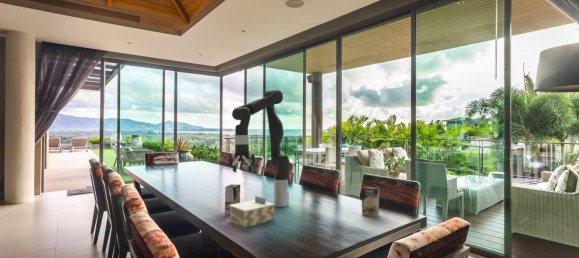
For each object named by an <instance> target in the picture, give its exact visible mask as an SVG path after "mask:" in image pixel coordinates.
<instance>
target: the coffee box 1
mask: <svg viewBox="0 0 579 258" xmlns="http://www.w3.org/2000/svg"><path fill="white" fill-rule="evenodd" d="M237 203H241V184H229V185H227V186H225V187H224V215H230V206H229V205H232V204H237Z"/></svg>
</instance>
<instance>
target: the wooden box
mask: <svg viewBox="0 0 579 258" xmlns="http://www.w3.org/2000/svg"><path fill="white" fill-rule="evenodd" d="M274 215H275V206H274V205H272V206H268V207H264V208H259V209H255V210H251V211H246V212H245V211H242V210H239V209H236V208H233V207H231V206H230V216H229V222H231V223H233V224H236V225H238V226H240V227H243V228H248V227H252V226H253V227H254V226H255V225H260V224H264V223H267V222H271V221H274V220H275V216H274Z"/></svg>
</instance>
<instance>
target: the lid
mask: <svg viewBox="0 0 579 258" xmlns="http://www.w3.org/2000/svg"><path fill="white" fill-rule="evenodd" d="M254 198H255V199H252V200H247V201H241V202H240V203H237V204H232V205H229V206H231V207H233V208H236V209H239V210H242V211H245V212H246V211H251V210H255V209H259V208H264V207H268V206H272V205H275V204H273V202H269V201H266V198H265V197H262V196H258V195H255V196H254Z"/></svg>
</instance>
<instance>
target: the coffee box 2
mask: <svg viewBox="0 0 579 258" xmlns="http://www.w3.org/2000/svg"><path fill="white" fill-rule="evenodd" d="M361 191H362V193H361V194H362V195H361V197H362V198H361V199H362V200H361V216H366V217H373V218H378V217H379V213H380V211H379V210H380V187H377V186H368V185H367V186H365V185H364V186H362V188H361Z"/></svg>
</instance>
